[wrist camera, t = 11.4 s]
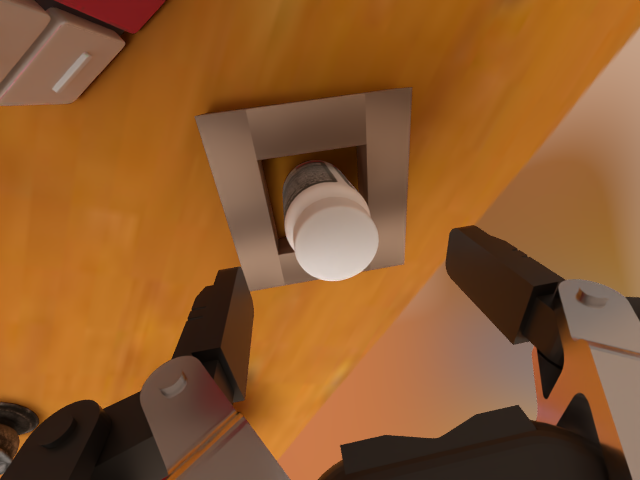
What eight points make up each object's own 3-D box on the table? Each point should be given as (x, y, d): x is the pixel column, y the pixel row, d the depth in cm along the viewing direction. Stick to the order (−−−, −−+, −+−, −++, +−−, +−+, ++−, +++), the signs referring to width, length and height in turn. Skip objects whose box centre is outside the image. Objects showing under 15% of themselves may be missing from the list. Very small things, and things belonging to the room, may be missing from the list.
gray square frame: (205, 113, 16) (194, 116, 14) (395, 88, 17) (412, 87, 15) (252, 272, 22) (249, 291, 20) (392, 248, 23) (404, 264, 21)
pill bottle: (275, 212, 20) (272, 278, 13) (293, 149, 18) (302, 185, 11) (333, 227, 21) (362, 296, 14) (356, 170, 19) (403, 215, 12)
